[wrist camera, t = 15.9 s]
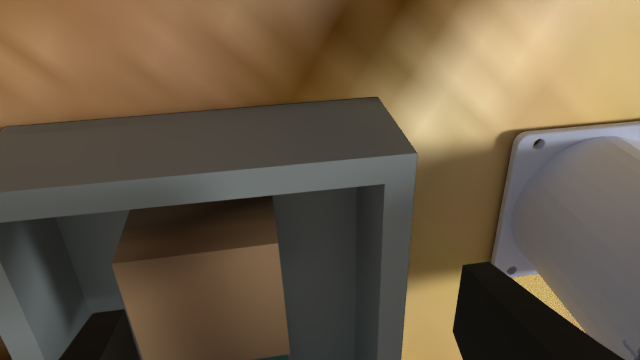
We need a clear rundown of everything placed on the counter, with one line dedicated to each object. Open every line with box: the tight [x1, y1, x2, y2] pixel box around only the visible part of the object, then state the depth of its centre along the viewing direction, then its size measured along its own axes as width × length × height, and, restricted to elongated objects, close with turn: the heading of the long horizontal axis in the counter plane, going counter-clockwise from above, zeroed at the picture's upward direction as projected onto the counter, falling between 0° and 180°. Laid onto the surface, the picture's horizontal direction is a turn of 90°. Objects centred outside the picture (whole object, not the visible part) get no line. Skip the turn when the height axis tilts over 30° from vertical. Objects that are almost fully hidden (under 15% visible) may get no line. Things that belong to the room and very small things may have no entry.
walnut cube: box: [111, 195, 290, 360], centre depth 18 cm, size 5×5×5 cm
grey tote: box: [0, 97, 417, 360], centre depth 21 cm, size 14×18×5 cm
